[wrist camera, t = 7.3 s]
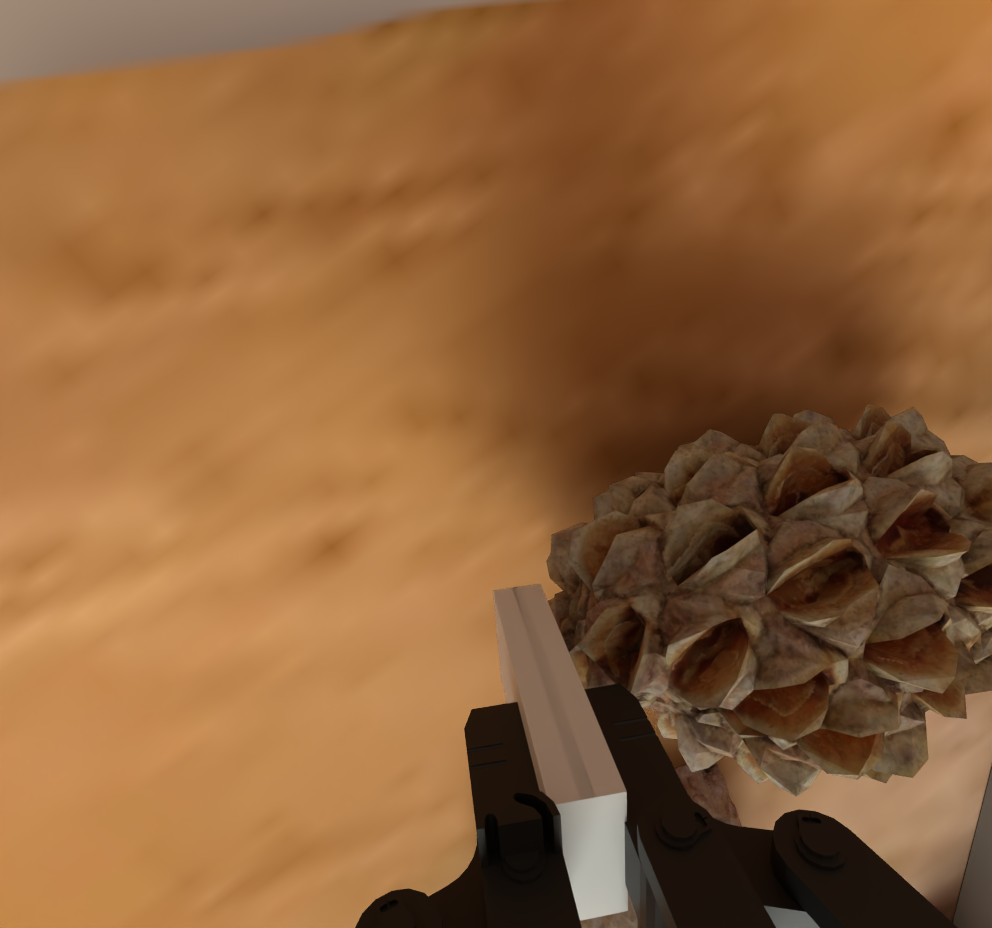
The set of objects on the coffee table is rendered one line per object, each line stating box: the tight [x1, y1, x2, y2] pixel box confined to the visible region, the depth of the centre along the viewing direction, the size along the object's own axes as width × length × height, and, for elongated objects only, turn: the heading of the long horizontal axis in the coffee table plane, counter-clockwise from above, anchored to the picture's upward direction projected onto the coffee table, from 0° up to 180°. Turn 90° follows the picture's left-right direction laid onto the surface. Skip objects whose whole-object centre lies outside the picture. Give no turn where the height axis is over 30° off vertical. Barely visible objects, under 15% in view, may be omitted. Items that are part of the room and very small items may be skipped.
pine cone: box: [547, 404, 992, 796], centre depth 17 cm, size 22×10×10 cm, turn 99°
